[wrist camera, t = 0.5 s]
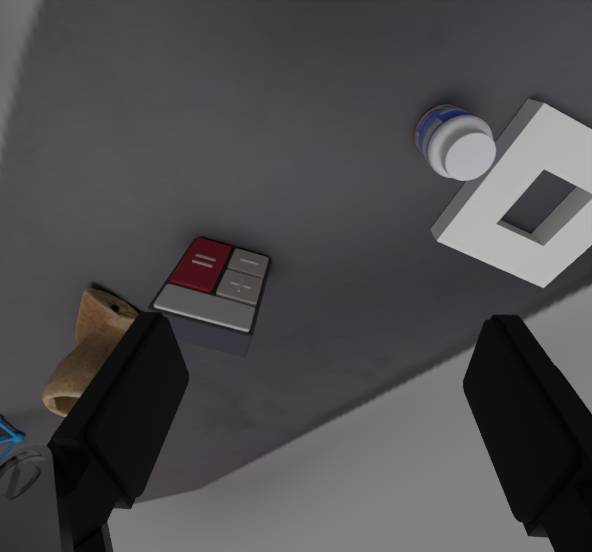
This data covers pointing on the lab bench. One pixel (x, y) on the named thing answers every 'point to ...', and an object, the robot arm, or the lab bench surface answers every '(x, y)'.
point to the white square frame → (511, 185)
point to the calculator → (214, 296)
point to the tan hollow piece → (88, 348)
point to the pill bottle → (455, 142)
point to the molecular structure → (10, 438)
